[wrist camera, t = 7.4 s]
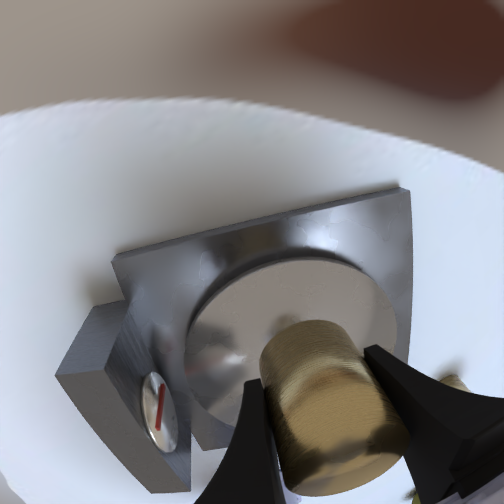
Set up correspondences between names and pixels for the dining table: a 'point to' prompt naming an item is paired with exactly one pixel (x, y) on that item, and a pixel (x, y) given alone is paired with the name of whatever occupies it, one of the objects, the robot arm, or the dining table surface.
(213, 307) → the scale pan
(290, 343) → the cylinder
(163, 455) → the scale
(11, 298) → the dining table surface
